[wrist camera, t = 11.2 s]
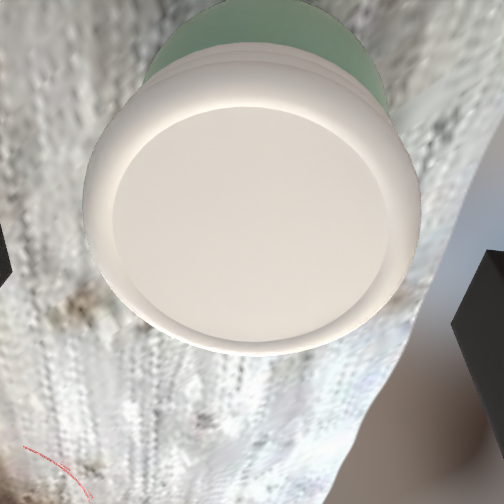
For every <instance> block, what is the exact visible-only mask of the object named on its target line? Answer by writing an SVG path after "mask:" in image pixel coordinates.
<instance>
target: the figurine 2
mask: <svg viewBox="0 0 504 504" xmlns="http://www.w3.org/2000/svg"><path fill="white" fill-rule="evenodd" d="M23 447H24V448H26V449H28V450H30V451H32V452H34V453H37V454H39V455H41V456H42V457H44V458H46V459H48V460H49V461H51V462H53V463H54V464H56V465H57V466H59V467H60V468H61V469H63V470H64V471H66V472H67V473H68V474H69V475H70V476H71V477H72V478H73V479H75V478H74V477H73V476H72V475H71V474H70V473H69V472H68V471H67V470H65V469H64V468H62V467H61V466H60V465H58V464H57V463H55V462H54V461H52V460H51V459H49V458H47V457H45V456H44V455H42V454H40V453H38V452H36V451H34V450H31V449H29V448H27V447H25V446H23ZM59 464H60V463H59ZM61 465H62V464H61ZM62 466H63V465H62ZM64 467H65V466H64ZM65 468H66V469H68V470H69V471H70V469H69V468H67V467H65ZM75 480H76V481H77V479H75ZM77 483H78V484H79V485H80V486H81V484H80V483H79V482H78V481H77ZM81 487H82V486H81ZM82 489H83V490H84V488H83V487H82ZM84 492H85V494H86V496H87V497H88V495H87V493H86V491H85V490H84ZM89 493H90V492H89ZM90 495H91V494H90ZM91 497H92V495H91ZM92 498H93V497H92ZM88 500H89V497H88ZM89 504H90V501H89Z"/></svg>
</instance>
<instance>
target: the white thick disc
mask: <svg viewBox="0 0 504 504" xmlns="http://www.w3.org/2000/svg"><path fill="white" fill-rule="evenodd" d="M82 211H83V222H84V229H85V233H86V238H87V242H88V245H89V248H90V251H91V254H92V256H93V259H94V261H95V263H96V265H97V267H98V269H99V271H100V273H101V275H102V276H103V278H104V279H105V280H106V282H107V283H108V285H109V286H110V288H111V289H112V290H113V291H114V293H115V294H116V295H117V296H118V297H119V298H120V299H121V301H122V302H123V303H124V304H125V305H126V306H128V307H129V308H130V309H131V310H132V311H133V312H134V313H135V314H136V315H138V316H139V317H140V318H142V319H143V320H145V321H146V322H147V323H149V324H150V325H151V326H153V327H155V328H157V329H158V330H160V331H162V332H164V333H165V334H167V335H169V336H171V337H174V338H176V339H178V340H180V341H183V342H185V343H187V344H190V345H193V346H196V347H199V348H202V349H206V350H210V351H215V352H219V353H224V354H232V355H239V356H276V355H283V354H289V353H296V352H300V351H304V350H308V349H312V348H315V347H318V346H321V345H324V344H327V343H329V342H332V341H334V340H336V339H338V338H340V337H342V336H344V335H346V334H348V333H350V332H351V331H353V330H355V329H356V328H358V327H359V326H361V325H362V324H364V323H365V322H366V321H368V320H369V319H370V318H371V317H373V316H374V315H375V314H376V313H377V312H378V311H379V310H380V309H381V308H382V307H383V306H384V305H385V304H386V303H387V302H388V301H389V300H390V299H391V297H392V296H393V295H394V293H395V292H396V291H397V289H398V288H399V287H400V285H401V283H402V281H403V279H404V278H405V276H406V274H407V272H408V270H409V268H410V265H411V263H412V260H413V258H414V255H415V251H416V247H417V243H418V239H419V232H420V223H421V194H420V189H419V184H418V179H417V174H416V172H415V169H414V166H413V164H412V161H411V158H410V156H409V154H408V152H407V150H406V148H405V146H404V145H403V143H402V141H401V139H400V137H399V136H398V134H397V132H396V130H395V128H394V127H393V125H392V123H391V121H390V119H389V118H388V116H387V114H386V112H385V111H384V109H383V107H382V106H381V105H380V104H379V102H378V101H377V100H376V99H375V97H374V96H373V95H372V94H371V92H370V91H369V90H368V89H366V88H365V87H364V86H363V85H362V84H361V83H360V82H359V81H358V80H357V79H356V78H355V77H353V76H352V75H350V74H349V73H347V72H346V71H344V70H343V69H342V68H340V67H339V66H337V65H336V64H334V63H332V62H330V61H328V60H326V59H324V58H322V57H320V56H318V55H315V54H313V53H310V52H307V51H304V50H301V49H297V48H294V47H291V46H285V45H279V44H272V43H262V42H239V43H231V44H223V45H217V46H213V47H210V48H206V49H203V50H199V51H196V52H194V53H191V54H189V55H187V56H185V57H182V58H180V59H178V60H176V61H174V62H172V63H171V64H169V65H168V66H166V67H165V68H163V69H162V70H160V71H158V72H157V73H155V74H154V75H153V76H152V77H151V78H150V79H149V80H148V81H147V82H145V83H144V84H143V85H142V86H141V87H140V88H139V89H138V91H137V92H136V93H135V94H134V95H133V96H132V97H131V98H130V99H129V101H128V102H127V103H126V104H125V106H124V107H123V108H122V109H121V110H120V111H119V112H118V113H117V114H116V115H115V117H114V118H113V119H112V120H111V122H110V123H109V124H108V125H107V127H106V128H105V129H104V131H103V133H102V135H101V136H100V138H99V140H98V142H97V143H96V145H95V147H94V150H93V152H92V155H91V158H90V160H89V163H88V166H87V171H86V176H85V181H84V187H83V204H82Z"/></svg>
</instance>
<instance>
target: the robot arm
mask: <svg viewBox="0 0 504 504" xmlns="http://www.w3.org/2000/svg"><path fill="white" fill-rule="evenodd" d="M11 273H12V268H11V264H10V260H9V256H8V252H7V248H6V244H5V240H4V236H3V232H2V228H1V224H0V287H1V286H2V285H3V284H4V282H5V281H6V280H7V278H8V277H9V276H10V275H11ZM451 326H452V329H453V331H454V334H455V336H456V339H457V341H458V344H459V346H460V349H461V352H462V354H463V357H464V359H465V362H466V364H467V367H468V369H469V372H470V375H471V377H472V379H473V382H474V385H475V387H476V389H477V392H478V395H479V397H480V400H481V402H482V405H483V407H484V410H485V412H486V415H487V417H488V420H489V423H490V425H491V428H492V430H493V433H494V435H495V438H496V440H497V443H498V445H499V448H500V450H501V453H502V456H503V458H504V251H496V250H486V252H485V255H484V257H483V259H482V261H481V263H480V265H479V267H478V269H477V271H476V273H475V275H474V277H473V279H472V281H471V284H470V285H469V287H468V289H467V292H466V294H465V296H464V298H463V300H462V302H461V304H460V306H459V308H458V310H457V312H456V314H455V316H454V318H453V320H452V322H451Z"/></svg>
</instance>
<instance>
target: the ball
mask: <svg viewBox="0 0 504 504" xmlns="http://www.w3.org/2000/svg"><path fill="white" fill-rule="evenodd" d="M239 42H262V43H272V44H279V45H285V46H291V47H294V48H297V49H301V50H304V51H307V52H310V53H313V54H315V55H318V56H320V57H322V58H324V59H326V60H328V61H330V62H332V63H334V64H336V65H337V66H339V67H340V68H342V69H343V70H344V71H346V72H347V73H349V74H350V75H352V76H353V77H355V78H356V79H357V80H358V81H359V82H360V83H361V84H362V85H363V86H364V87H365V88H366V89H368V90H369V91H370V92H371V94H372V95H373V96H374V97H375V99H376V100H377V101H378V102H379V104H380V105H381V106H382V107H383V109H384V111H385V112H386V114H387V116H388V118H389V111H388V104H387V98H386V94H385V91H384V87H383V84H382V81H381V77H380V75H379V73H378V71H377V68H376V66H375V64H374V62H373V60H372V58H371V57H370V55H369V54H368V52H367V51H366V49H365V48H364V46H363V45H362V44H361V43H360V41H359V40H358V39H357V38H356V37H355V36H354V35H353V33H352V32H351V31H350V30H348V29H347V28H346V27H345V26H344V25H343V24H341V23H340V22H339V21H338V20H337V19H335V18H334V17H332V16H331V15H329V14H328V13H326V12H324V11H323V10H321V9H319V8H317V7H315V6H312V5H310V4H308V3H305V2H303V1H299V0H228V1H225V2H222V3H219V4H216V5H214V6H212V7H210V8H208V9H206V10H204V11H202V12H200V13H198V14H196V15H195V16H194V17H192V18H191V19H189V20H188V21H187V22H185V23H184V24H182V25H181V26H180V27H179V28H178V29H177V30H176V31H175V32H174V33H173V34H172V35H171V36H170V37H169V38H168V40H167V41H166V42H165V44H164V45H163V46H162V48H161V49H160V50H159V52H158V53H157V55H156V56H155V58H154V60H153V62H152V63H151V65H150V67H149V69H148V71H147V73H146V76H145V79H144V81H143V84H144V83H145V82H147V81H148V80H149V79H150V78H151V77H152V76H153V75H154V74H155V73H157V72H158V71H160V70H162V69H163V68H165V67H166V66H168V65H169V64H171V63H172V62H174V61H176V60H178V59H180V58H182V57H185V56H187V55H189V54H191V53H194V52H196V51H199V50H203V49H206V48H210V47H213V46H217V45H223V44H231V43H239ZM143 84H142V85H143Z"/></svg>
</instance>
